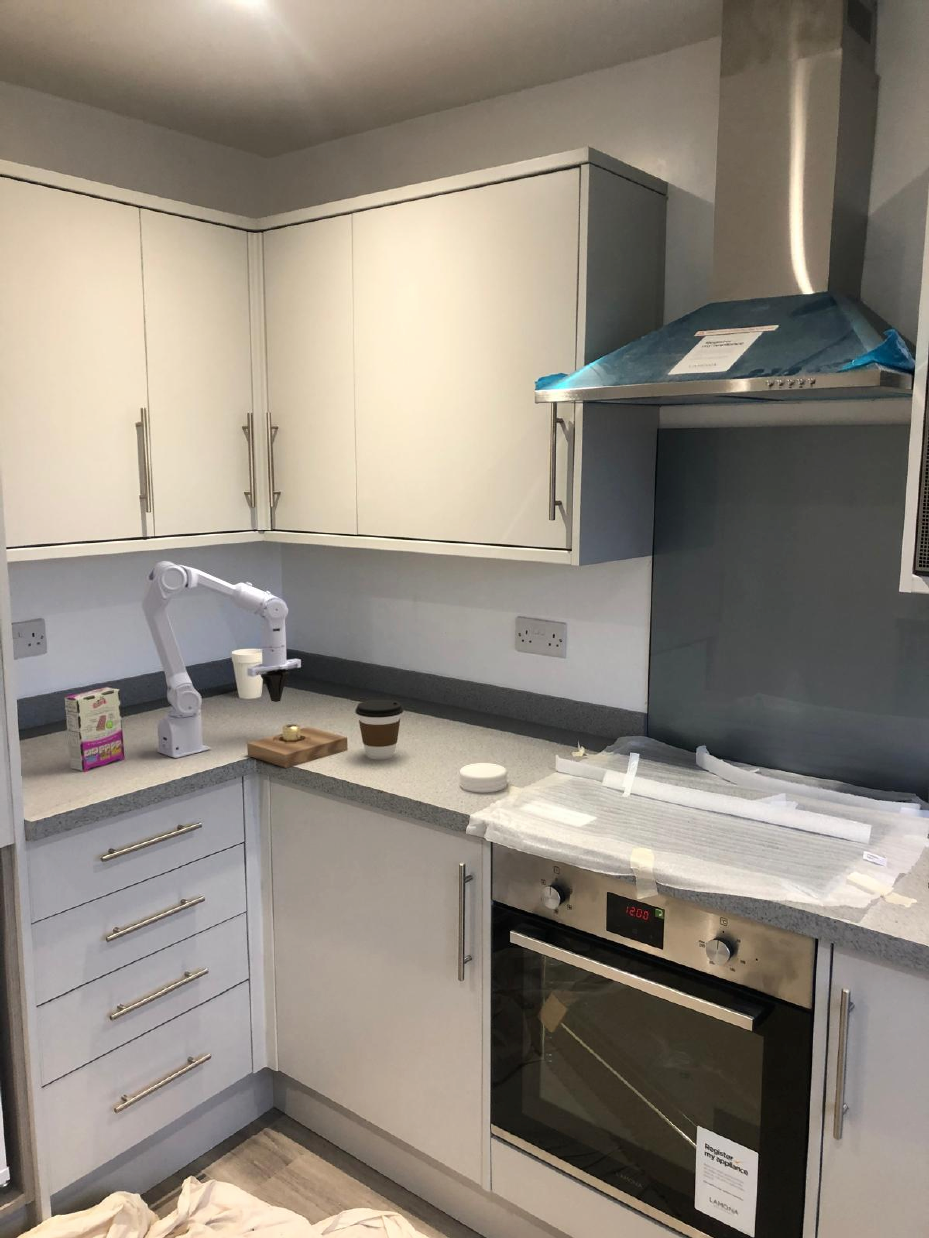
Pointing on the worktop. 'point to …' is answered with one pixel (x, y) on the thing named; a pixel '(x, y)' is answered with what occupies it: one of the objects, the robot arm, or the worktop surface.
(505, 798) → the worktop surface
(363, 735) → the coffee cup
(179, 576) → the robot arm
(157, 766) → the worktop surface
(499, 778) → the white round disc
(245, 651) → the foam cup
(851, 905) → the worktop surface
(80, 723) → the candy bar box
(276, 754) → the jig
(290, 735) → the bushing
